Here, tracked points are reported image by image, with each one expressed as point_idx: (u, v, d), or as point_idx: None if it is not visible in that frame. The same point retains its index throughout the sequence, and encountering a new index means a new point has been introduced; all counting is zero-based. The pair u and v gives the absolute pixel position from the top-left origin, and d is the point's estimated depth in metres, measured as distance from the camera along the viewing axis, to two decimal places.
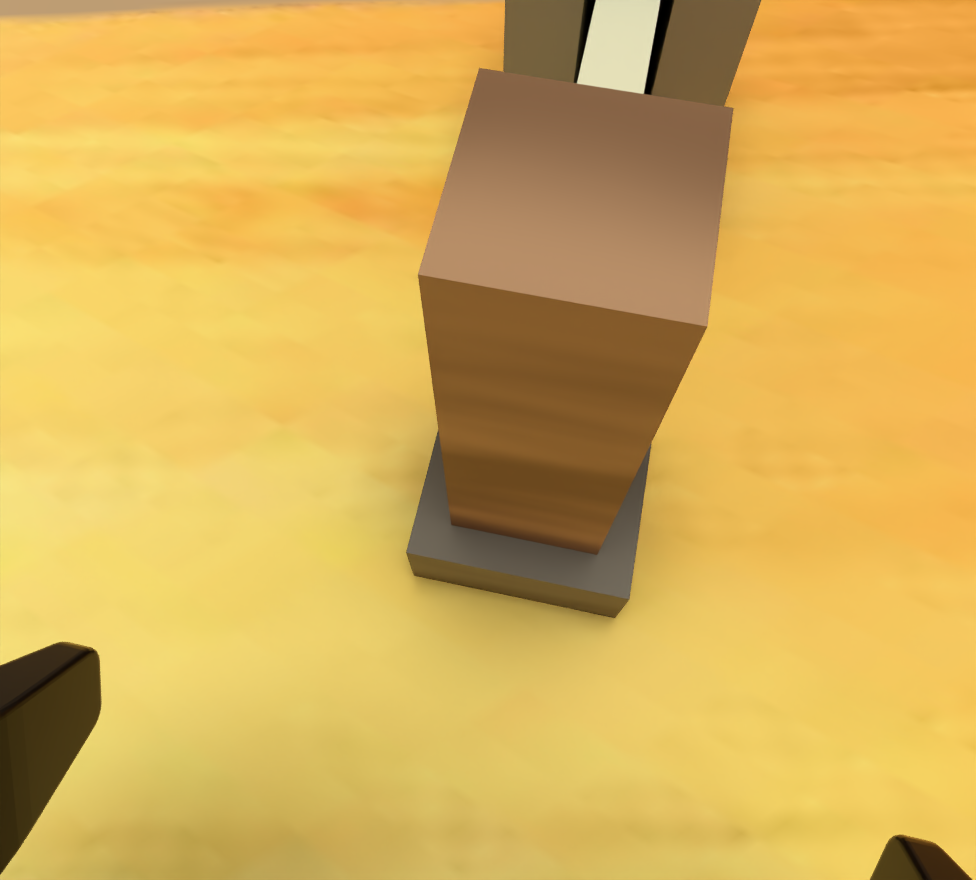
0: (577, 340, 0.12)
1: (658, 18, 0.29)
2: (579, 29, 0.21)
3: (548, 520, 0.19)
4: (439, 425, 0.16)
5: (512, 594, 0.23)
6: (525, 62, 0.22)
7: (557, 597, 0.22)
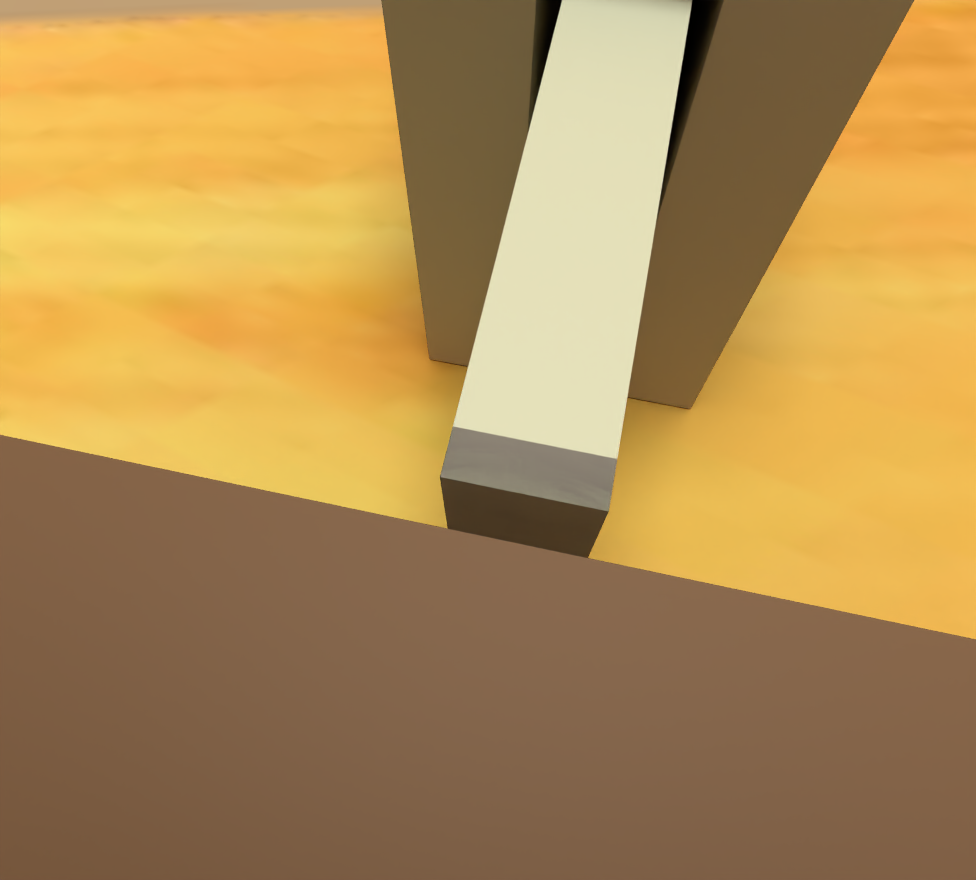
0: None
1: None
2: (529, 85, 0.11)
3: None
4: None
5: None
6: (437, 138, 0.12)
7: None
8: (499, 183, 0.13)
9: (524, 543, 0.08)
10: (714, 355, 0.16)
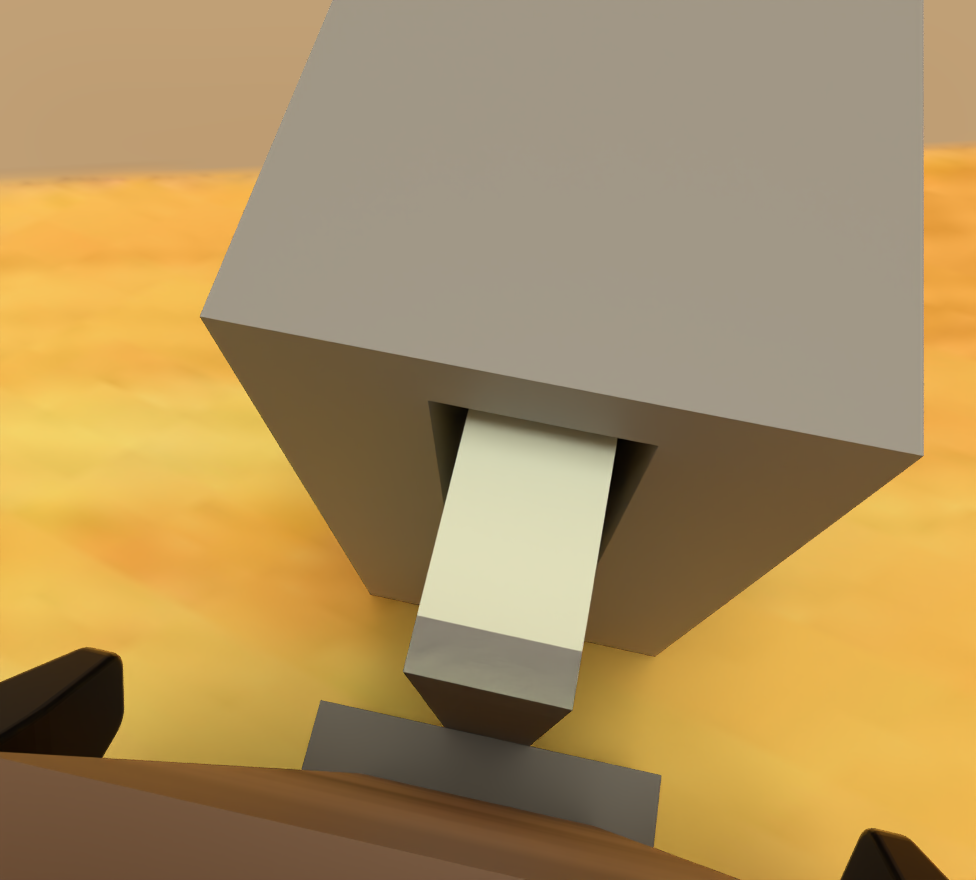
0: None
1: None
2: (438, 471, 0.09)
3: None
4: None
5: None
6: (343, 487, 0.11)
7: None
8: (418, 519, 0.11)
9: (494, 707, 0.08)
10: (675, 635, 0.14)
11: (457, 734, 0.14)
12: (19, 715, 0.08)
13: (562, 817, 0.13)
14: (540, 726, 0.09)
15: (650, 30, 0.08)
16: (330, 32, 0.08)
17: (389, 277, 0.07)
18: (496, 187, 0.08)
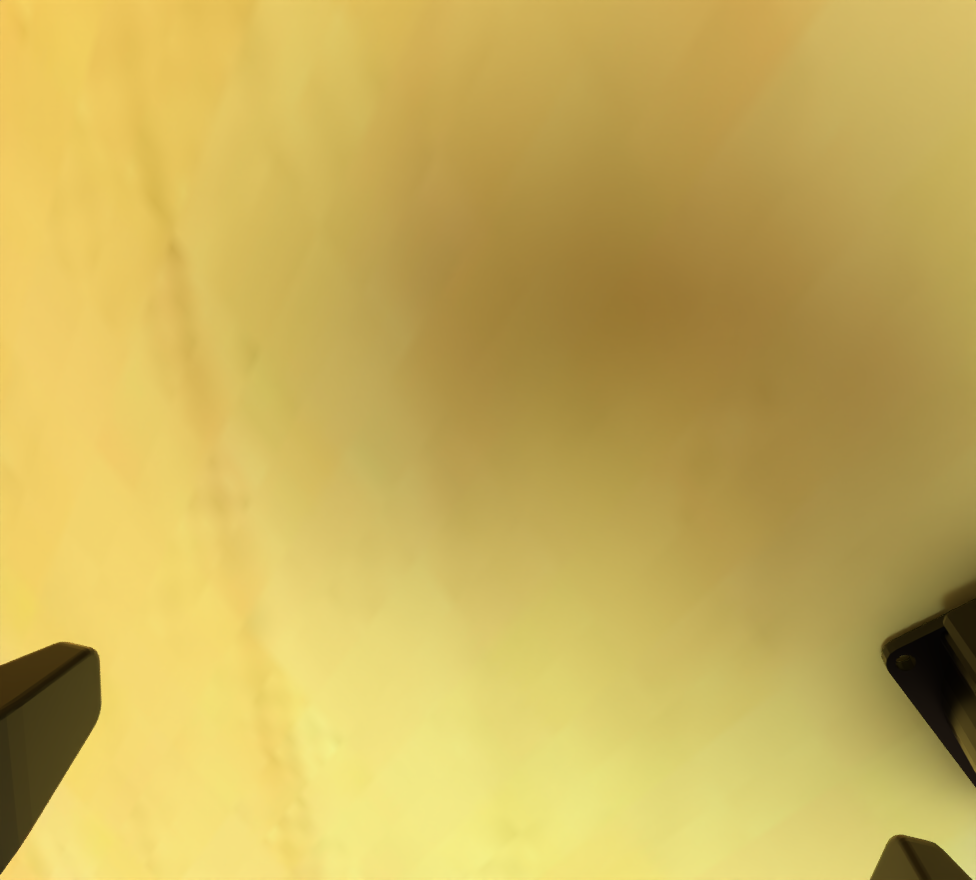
0: None
1: None
2: None
3: None
4: None
5: None
6: None
7: None
8: None
9: None
10: None
11: None
12: None
13: None
14: None
15: None
16: None
17: None
18: None
